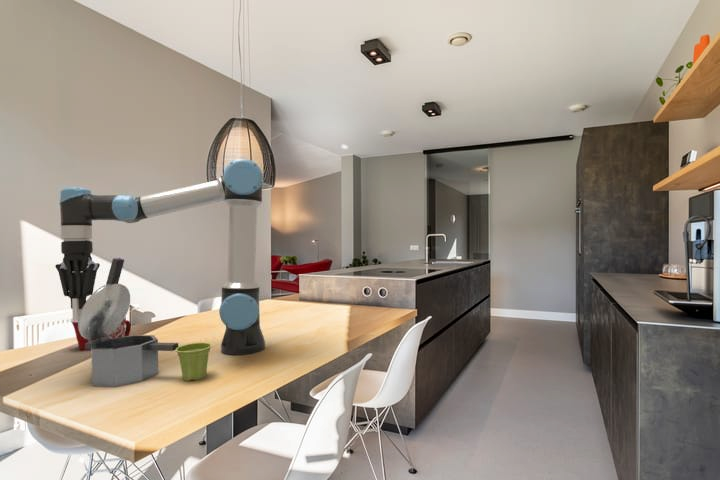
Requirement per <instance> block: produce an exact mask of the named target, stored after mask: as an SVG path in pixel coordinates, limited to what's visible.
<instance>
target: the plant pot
mask: <svg viewBox="0 0 720 480" xmlns="http://www.w3.org/2000/svg"><path fill="white" fill-rule="evenodd" d="M211 347H212V344H211V343H208V342H195V343H187V344H184V345H180V346H178V348H176V350H175V352H176V353H177V356H178V358H179V364H180V370H181V374H182V379H183V380H184V381H189V382H190V381H192V380H194V381H198V380H201V379H204V378H205V377H206V375H207V370H208V362H209V353H210V352H211V351H210V349H211Z"/></svg>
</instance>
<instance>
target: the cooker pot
mask: <svg viewBox="0 0 720 480" xmlns="http://www.w3.org/2000/svg"><path fill="white" fill-rule="evenodd" d="M158 341H159V340H158V338H157V337H156V336H155V335H154V334H152V335H151V334H149V335H147V334H132V335H129V336H124V337H117V338H110V339H107V340H103V341H99V342H96V343H93V344H88V343H85V349H90V353H91V383H92V387H108V388H110V387H111V388H115V387H116V388H117V387H122V386H126V385H131V384H135V383H141V382H144V381H146V380H148V379H150V378H152V377H154V376H155V375H158V374H159V352H160V351H162V352H163V351H164V352H175V351H176V348H178V347H179V342H158Z"/></svg>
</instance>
